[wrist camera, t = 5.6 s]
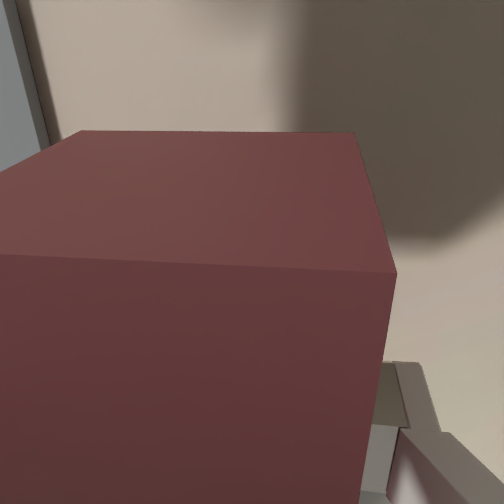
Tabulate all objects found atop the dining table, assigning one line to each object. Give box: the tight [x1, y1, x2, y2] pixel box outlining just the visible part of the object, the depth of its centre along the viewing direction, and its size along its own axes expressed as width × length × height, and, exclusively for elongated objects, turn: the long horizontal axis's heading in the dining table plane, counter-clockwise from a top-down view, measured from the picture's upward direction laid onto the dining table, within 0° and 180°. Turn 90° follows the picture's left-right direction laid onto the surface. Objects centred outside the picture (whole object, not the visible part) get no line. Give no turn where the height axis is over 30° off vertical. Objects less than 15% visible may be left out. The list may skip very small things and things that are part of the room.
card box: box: [0, 130, 397, 504], centre depth 8 cm, size 9×6×5 cm, turn 1°
